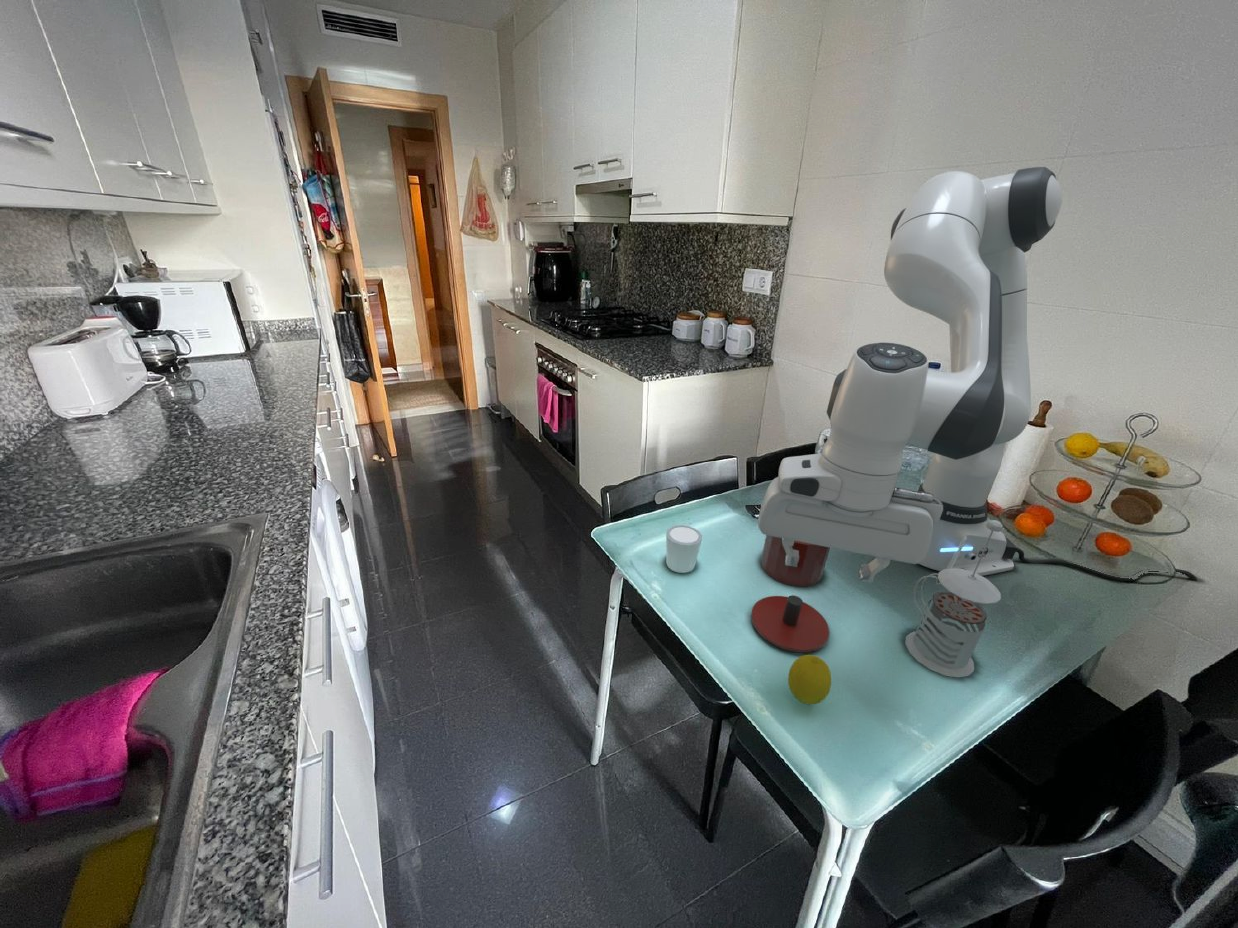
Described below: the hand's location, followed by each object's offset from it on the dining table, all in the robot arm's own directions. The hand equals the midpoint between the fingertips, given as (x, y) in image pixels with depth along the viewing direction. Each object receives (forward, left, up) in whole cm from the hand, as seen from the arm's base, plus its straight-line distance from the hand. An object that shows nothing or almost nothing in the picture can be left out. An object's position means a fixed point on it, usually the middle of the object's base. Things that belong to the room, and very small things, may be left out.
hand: (827, 571), depth 67 cm
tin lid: (-3, -10, -19) cm, 21 cm away
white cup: (+12, -28, -19) cm, 36 cm away
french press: (-25, -4, -19) cm, 32 cm away
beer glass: (-33, -60, -19) cm, 71 cm away
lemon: (+1, +4, -20) cm, 20 cm away
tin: (-10, -26, -19) cm, 34 cm away
